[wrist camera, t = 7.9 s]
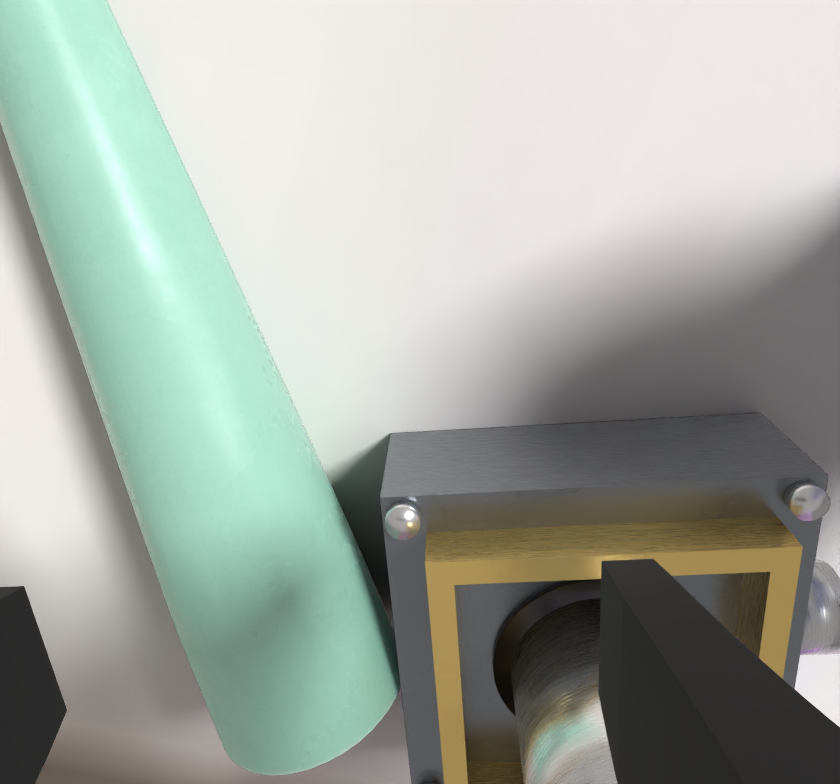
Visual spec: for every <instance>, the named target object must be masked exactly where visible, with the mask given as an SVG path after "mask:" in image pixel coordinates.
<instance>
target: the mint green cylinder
mask: <svg viewBox="0 0 840 784" xmlns="http://www.w3.org/2000/svg"><path fill="white" fill-rule="evenodd" d="M0 123H1V126H2V129H3V132H4V135H5V138H6V141H7V144H8V147H9V150H10V152H11V155H12V158H13V161H14V164H15V167H16V170H17V173H18V176H19V179H20V181H21V184H22V187H23V190H24V193H25V196H26V199H27V202H28V205H29V208H30V210H31V213H32V216H33V219H34V222H35V225H36V228H37V231H38V234H39V237H40V239H41V242H42V245H43V248H44V251H45V254H46V257H47V260H48V263H49V265H50V268H51V271H52V274H53V277H54V280H55V283H56V286H57V289H58V292H59V294H60V297H61V300H62V303H63V306H64V309H65V312H66V315H67V318H68V321H69V323H70V326H71V329H72V332H73V335H74V338H75V341H76V344H77V347H78V350H79V352H80V355H81V358H82V361H83V364H84V367H85V370H86V373H87V376H88V378H89V381H90V384H91V387H92V390H93V393H94V396H95V399H96V402H97V405H98V407H99V410H100V413H101V416H102V419H103V422H104V425H105V428H106V431H107V434H108V436H109V439H110V442H111V445H112V448H113V451H114V454H115V457H116V460H117V462H118V465H119V468H120V471H121V474H122V477H123V480H124V483H125V486H126V488H127V491H128V494H129V497H130V500H131V503H132V506H133V509H134V511H135V514H136V517H137V520H138V523H139V526H140V529H141V532H142V534H143V537H144V540H145V543H146V546H147V549H148V552H149V555H150V557H151V560H152V563H153V566H154V569H155V572H156V575H157V578H158V580H159V583H160V586H161V589H162V592H163V594H164V597H165V600H166V603H167V606H168V608H169V611H170V614H171V617H172V619H173V622H174V625H175V628H176V630H177V633H178V636H179V638H180V641H181V643H182V646H183V648H184V651H185V653H186V656H187V658H188V660H189V663H190V665H191V668H192V670H193V673H194V675H195V678H196V680H197V683H198V685H199V688H200V690H201V692H202V695H203V697H204V700H205V702H206V705H207V707H208V710H209V712H210V715H211V717H212V719H213V722H214V724H215V727H216V729H217V732H218V734H219V737H220V739H221V742H222V744H223V747H224V749H225V751H226V753H227V754H228V756H229V757H230V758H231V760H232V761H234V762H235V763H236V764H237V765H238V766H240V767H241V768H243V769H246V770H248V771H250V772H253V773H257V774H262V775H286V774H294V773H298V772H302V771H305V770H309V769H312V768H314V767H317V766H319V765H322V764H324V763H327V762H329V761H330V760H332V759H334V758H336V757H338V756H339V755H341V754H343V753H344V752H346V751H347V750H349V749H350V748H352V747H353V746H354V745H356V744H357V743H359V742H360V741H361V740H362V739H363V738H364V737H365V736H366V735H368V734H369V733H370V732H371V731H372V730H373V729H374V728H375V727H376V725H377V724H378V723H379V722H380V721H381V720H382V719H383V717H384V716H385V714H386V713H387V712H388V710H389V709H390V707H391V706H392V704H393V702H394V700H395V698H396V696H397V695H398V692H399V690H400V687H401V684H400V675H399V666H398V657H397V648H396V639H395V630H394V628H393V626H392V623H391V621H390V619H389V616H388V614H387V612H386V609H385V607H384V605H383V602H382V600H381V598H380V595H379V593H378V591H377V588H376V586H375V584H374V581H373V579H372V577H371V574H370V572H369V570H368V567H367V565H366V563H365V560H364V558H363V556H362V553H361V551H360V549H359V546H358V544H357V542H356V539H355V537H354V535H353V533H352V530H351V528H350V526H349V524H348V522H347V519H346V517H345V515H344V513H343V510H342V508H341V506H340V504H339V501H338V499H337V497H336V495H335V493H334V490H333V488H332V486H331V484H330V482H329V479H328V477H327V475H326V473H325V471H324V468H323V466H322V464H321V462H320V460H319V458H318V455H317V453H316V451H315V449H314V447H313V444H312V442H311V440H310V438H309V436H308V433H307V431H306V429H305V427H304V425H303V422H302V420H301V418H300V416H299V414H298V411H297V409H296V407H295V405H294V403H293V400H292V398H291V396H290V394H289V392H288V389H287V387H286V385H285V383H284V381H283V379H282V376H281V374H280V372H279V370H278V368H277V366H276V363H275V361H274V359H273V357H272V355H271V353H270V350H269V348H268V346H267V344H266V342H265V340H264V337H263V335H262V333H261V331H260V329H259V327H258V324H257V322H256V320H255V318H254V316H253V314H252V311H251V309H250V307H249V305H248V303H247V301H246V298H245V296H244V294H243V292H242V290H241V288H240V285H239V283H238V281H237V279H236V277H235V274H234V272H233V270H232V268H231V266H230V264H229V261H228V259H227V257H226V255H225V253H224V251H223V248H222V246H221V244H220V242H219V240H218V238H217V235H216V233H215V231H214V229H213V227H212V225H211V222H210V220H209V218H208V216H207V214H206V212H205V209H204V207H203V205H202V203H201V201H200V199H199V197H198V194H197V192H196V190H195V188H194V186H193V184H192V182H191V179H190V177H189V175H188V173H187V171H186V169H185V167H184V164H183V162H182V160H181V158H180V156H179V154H178V152H177V149H176V147H175V145H174V143H173V141H172V139H171V137H170V134H169V132H168V130H167V128H166V126H165V124H164V122H163V119H162V117H161V115H160V113H159V111H158V109H157V107H156V104H155V102H154V100H153V98H152V96H151V94H150V92H149V89H148V87H147V85H146V83H145V81H144V79H143V77H142V74H141V72H140V70H139V68H138V66H137V64H136V62H135V59H134V57H133V55H132V53H131V51H130V49H129V47H128V44H127V42H126V40H125V38H124V36H123V34H122V32H121V29H120V27H119V25H118V23H117V21H116V19H115V17H114V14H113V12H112V10H111V8H110V6H109V4H108V2H107V0H0Z"/></svg>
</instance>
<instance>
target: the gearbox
mask: <svg viewBox="0 0 840 784" xmlns="http://www.w3.org/2000/svg"><path fill="white" fill-rule="evenodd" d="M828 476H829V475H828V474H827V473H826V472H824V471H823V470H822V469H821V468H820V467H819V466H818V465H817V464H816V463H815V462H814V461H812V460H811V459H810V458H809V457H808V456H807V455H806V454H805V453H804V452H803V451H802V450H800V449H799V448H798V447H797V446H796V445H795V444H794V443H793V442H792V441H791V440H790V439H788V438H787V437H786V436H785V435H784V434H783V433H782V432H781V431H780V430H779V429H778V428H776V427H775V426H774V425H773V424H772V423H771V422H770V421H769V420H768V419H767V418H765V417H764V416H763V415H762V414H761V413H749V414H730V415H712V416H694V417H676V418H658V419H640V420H622V421H604V422H586V423H568V424H550V425H532V426H514V427H496V428H478V429H459V430H441V431H423V432H405V433H391V435H390V441H389V447H388V453H387V459H386V464H385V470H384V476H383V482H382V488H381V494H380V503H381V512H382V521H383V530H384V539H385V549H386V558H387V567H388V576H389V585H390V594H391V603H392V612H393V621H394V630H395V639H396V648H397V657H398V666H399V675H400V684H401V693H402V702H403V711H404V720H405V729H406V738H407V747H408V756H409V765H410V774H411V783H412V784H524V780H523V772H522V764H521V755H520V747H519V739H518V730H517V722H516V714H515V705H514V697H513V689H512V680H511V663H512V658H513V655H514V651H515V649H516V647H517V645H518V643H519V641H520V640H521V638H522V637H523V635H524V634H525V633H526V632H527V630H528V629H529V628H530V627H531V626H532V625H533V624H534V623H536V622H537V621H538V620H539V619H540V618H542V617H544V616H545V615H547V614H548V613H550V612H552V611H554V610H556V609H558V608H559V607H562V606H565V605H567V604H570V603H574V602H577V601H581V600H587V599H594V598H601V563H602V561H612V560H635V559H654V560H655V561H656V562H657V563H658V564H660V565H661V566H662V567H663V568H664V569H665V570H666V571H667V572H668V573H669V574H670V575H671V576H672V577H673V578H674V579H676V580H677V581H678V582H679V583H680V584H681V585H682V586H683V587H684V588H685V589H686V590H687V591H688V592H689V593H690V594H691V595H692V596H693V597H694V598H695V599H696V600H697V601H698V602H700V603H701V604H702V605H703V606H704V607H705V608H706V609H707V610H708V611H709V612H710V613H711V614H712V615H713V616H714V617H715V618H716V619H717V620H718V621H720V622H721V623H722V624H723V625H724V626H725V627H726V628H727V629H728V630H729V631H730V632H731V633H732V634H733V635H734V636H736V637H737V638H738V639H739V640H740V641H741V642H742V643H743V644H744V645H745V646H746V647H748V648H749V649H750V650H751V651H752V652H753V653H754V654H755V655H756V656H757V657H759V658H760V659H761V660H762V661H763V662H764V663H765V664H766V665H768V666H769V667H770V668H771V669H772V670H773V671H774V672H776V673H777V674H778V675H779V676H780V677H781V678H782V679H783V680H785V681H786V682H787V683H788V684H789V685H790V686H791V687H792V688H795V682H796V676H797V669H798V663H799V657H800V655H814V654H839V653H840V578H839V577H838V575H837V573H836V572H835V571H834V570H833V568H832V567H831V566H830V565H828V564H827V563H825V562H824V561H820V560H815V557H816V551H817V544H818V538H819V532H820V526H821V519H822V516H823V515H824V514H825V513H826V512H827V511H828V509H829V507H830V498H829V496H828V495H827V493H826V488H827V482H828Z"/></svg>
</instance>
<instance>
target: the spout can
mask: <svg viewBox="0 0 840 784" xmlns="http://www.w3.org/2000/svg"><path fill="white" fill-rule="evenodd" d="M600 603H601V598H594V599H587V600H581V601H577V602H574V603H570V604H567V605H565V606H562V607H559V608H558V609H556V610H554V611H552V612H550V613H548V614H547V615H545V616H544V617H542V618H540V619H539V620H538V621H537V622H536V623H534V624H533V625H532V626H531V627H530V628H529V629H528V630H527V632H526V633H525V634H524V635H523V637H522V638H521V640H520V641H519V643H518V645H517V647H516V649H515V651H514V655H513V658H512V663H511V680H512V689H513V697H514V705H515V714H516V722H517V730H518V739H519V747H520V755H521V764H522V772H523V780H524V784H618V783H617V779H616V775H615V771H614V766H613V762H612V757H611V752H610V748H609V743H608V738H607V733H606V728H605V724H604V719H603V714H602V709H601V704H600V699H599V694H598V683H599V643H600Z"/></svg>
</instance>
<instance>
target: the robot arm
mask: <svg viewBox="0 0 840 784" xmlns="http://www.w3.org/2000/svg"><path fill="white" fill-rule="evenodd" d="M598 694H599V699H600V704H601V709H602V714H603V719H604V724H605V728H606V733H607V738H608V743H609V748H610V752H611V757H612V762H613V766H614V771H615V775H616V779H617V783H618V784H840V727H839V726H837V725H836V724H835V723H834V722H832V721H831V720H830V719H829V718H827V717H826V716H825V715H824V714H823V713H821V712H820V711H819V710H818V709H817V708H816V707H814V706H813V705H812V704H811V703H810V702H808V701H807V700H806V699H805V698H804V697H803V696H802V695H800V694H799V693H798V692H797V691H796V690H795V689H794V688H792V687H791V686H790V685H789V684H788V683H787V682H786V681H785V680H783V679H782V678H781V677H780V676H779V675H778V674H777V673H776V672H774V671H773V670H772V669H771V668H770V667H769V666H768V665H766V664H765V663H764V662H763V661H762V660H761V659H760V658H759V657H757V656H756V655H755V654H754V653H753V652H752V651H751V650H750V649H749V648H748V647H746V646H745V645H744V644H743V643H742V642H741V641H740V640H739V639H738V638H737V637H736V636H734V635H733V634H732V633H731V632H730V631H729V630H728V629H727V628H726V627H725V626H724V625H723V624H722V623H721V622H720V621H718V620H717V619H716V618H715V617H714V616H713V615H712V614H711V613H710V612H709V611H708V610H707V609H706V608H705V607H704V606H703V605H702V604H701V603H700V602H698V601H697V600H696V599H695V598H694V597H693V596H692V595H691V594H690V593H689V592H688V591H687V590H686V589H685V588H684V587H683V586H682V585H681V584H680V583H679V582H678V581H677V580H676V579H674V578H673V577H672V576H671V575H670V574H669V573H668V572H667V571H666V570H665V569H664V568H663V567H662V566H661V565H660V564H658V563H657V562H656V561H655V560H654V559H635V560H612V561H602V563H601V603H600V643H599V683H598ZM66 711H67V709H66V706H65V703H64V700H63V697H62V695H61V692H60V689H59V686H58V683H57V680H56V677H55V674H54V671H53V669H52V666H51V663H50V660H49V657H48V654H47V651H46V648H45V645H44V643H43V640H42V637H41V634H40V631H39V628H38V625H37V622H36V619H35V617H34V614H33V611H32V608H31V605H30V602H29V599H28V596H27V593H26V591H25V588H24V586H18V587H0V784H35V782H36V780H37V778H38V776H39V774H40V771H41V769H42V767H43V765H44V763H45V761H46V759H47V756H48V754H49V752H50V749H51V747H52V745H53V742H54V740H55V737H56V735H57V733H58V730H59V728H60V725H61V723H62V721H63V718H64V716H65V713H66Z"/></svg>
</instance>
